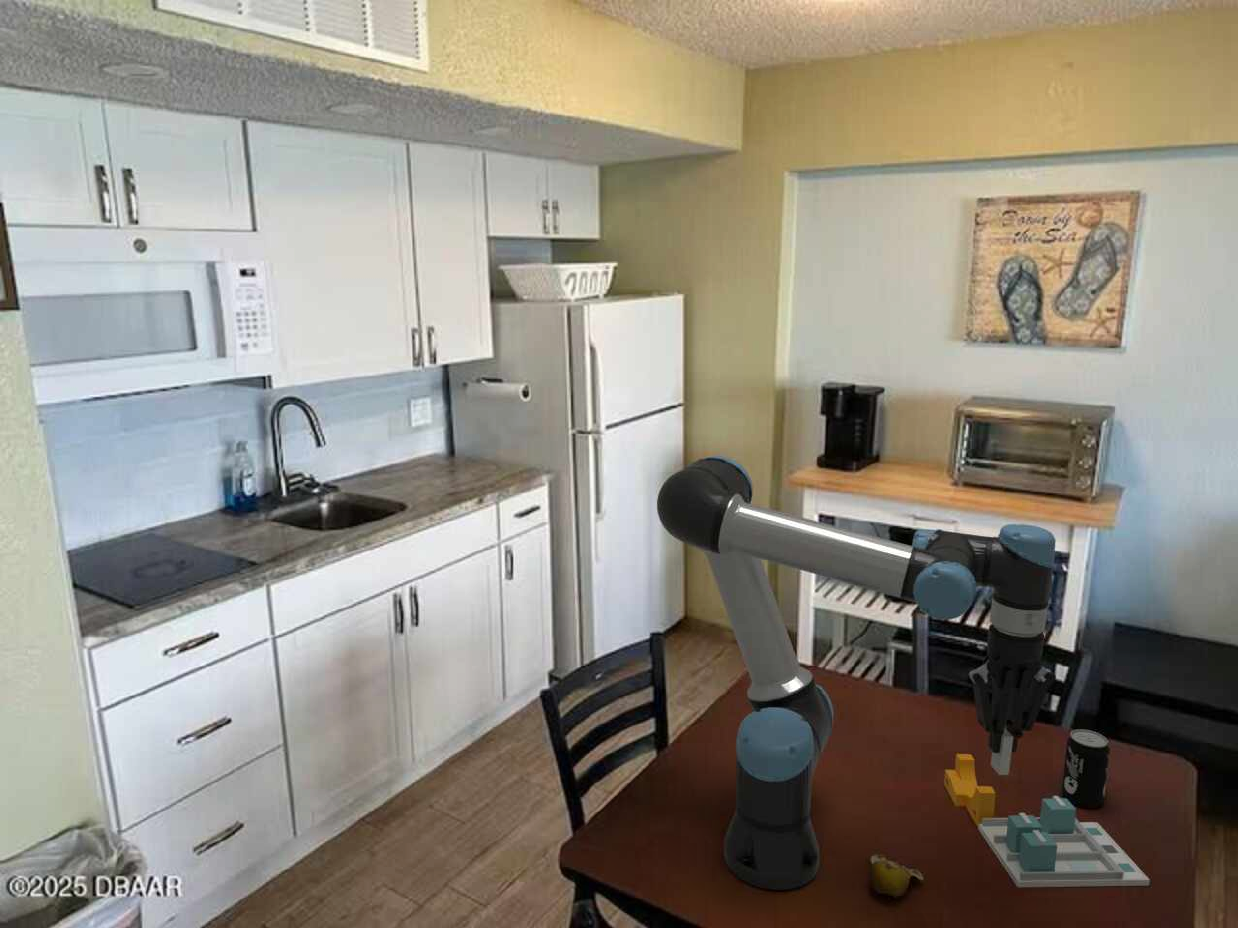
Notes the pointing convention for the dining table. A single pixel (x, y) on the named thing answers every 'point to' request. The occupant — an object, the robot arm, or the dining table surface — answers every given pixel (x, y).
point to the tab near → (1037, 852)
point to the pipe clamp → (969, 789)
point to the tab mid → (1020, 829)
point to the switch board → (1069, 858)
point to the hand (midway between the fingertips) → (999, 769)
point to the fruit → (890, 876)
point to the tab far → (1057, 816)
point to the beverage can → (1085, 768)
